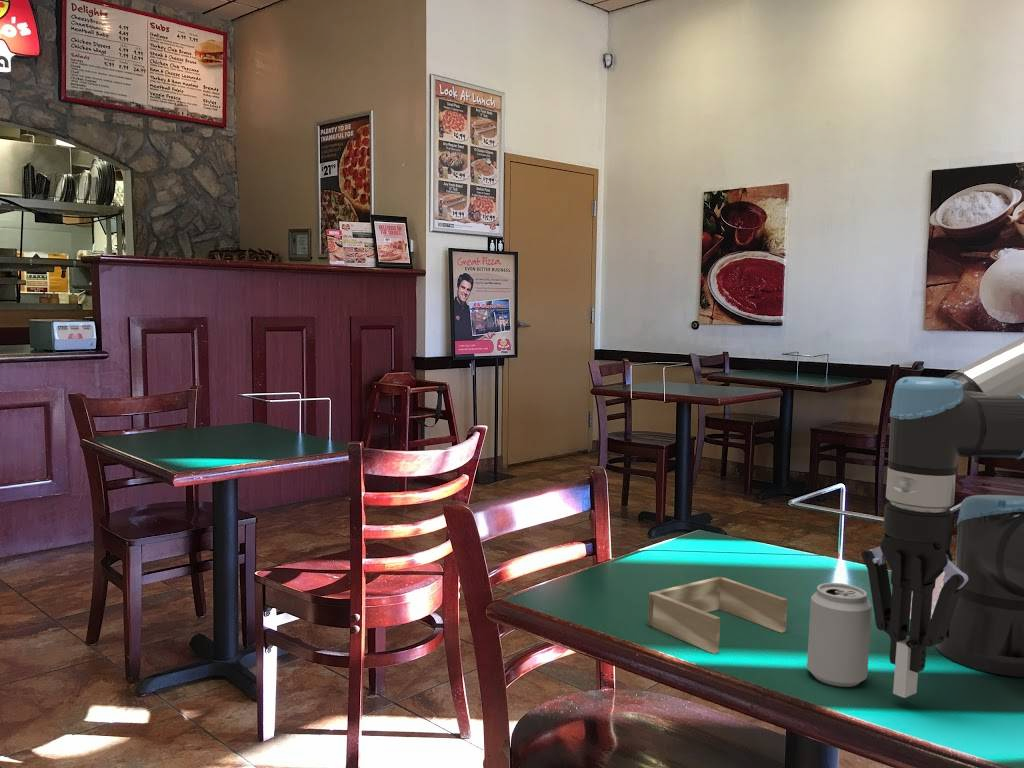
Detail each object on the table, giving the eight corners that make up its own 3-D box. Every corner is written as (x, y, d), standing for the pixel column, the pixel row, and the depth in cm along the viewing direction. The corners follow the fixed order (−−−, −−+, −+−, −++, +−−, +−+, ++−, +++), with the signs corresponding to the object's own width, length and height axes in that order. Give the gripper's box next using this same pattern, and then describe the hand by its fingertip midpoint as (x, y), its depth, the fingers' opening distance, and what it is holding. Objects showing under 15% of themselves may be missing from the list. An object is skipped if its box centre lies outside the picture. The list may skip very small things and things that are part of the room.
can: (818, 661, 121) (823, 576, 120) (874, 676, 116) (880, 588, 115) (797, 677, 115) (803, 588, 114) (855, 695, 110) (861, 602, 109)
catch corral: (718, 606, 142) (720, 576, 142) (785, 631, 132) (787, 599, 131) (647, 624, 133) (649, 592, 132) (713, 653, 122) (715, 619, 122)
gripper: (852, 497, 109) (839, 680, 111) (956, 520, 98) (940, 722, 100) (885, 491, 113) (873, 668, 115) (989, 512, 103) (973, 706, 105)
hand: (904, 693), depth 108 cm, fingers closed
